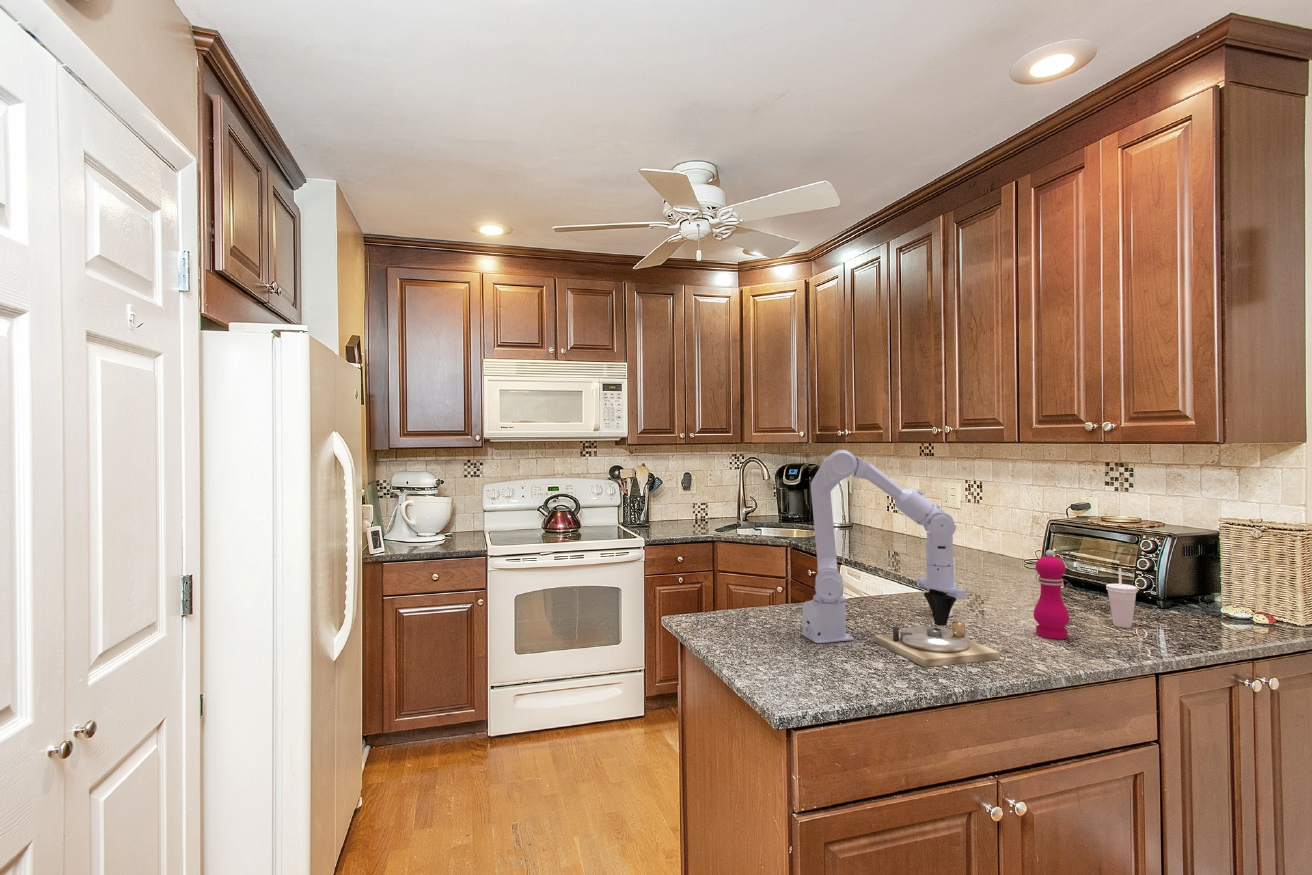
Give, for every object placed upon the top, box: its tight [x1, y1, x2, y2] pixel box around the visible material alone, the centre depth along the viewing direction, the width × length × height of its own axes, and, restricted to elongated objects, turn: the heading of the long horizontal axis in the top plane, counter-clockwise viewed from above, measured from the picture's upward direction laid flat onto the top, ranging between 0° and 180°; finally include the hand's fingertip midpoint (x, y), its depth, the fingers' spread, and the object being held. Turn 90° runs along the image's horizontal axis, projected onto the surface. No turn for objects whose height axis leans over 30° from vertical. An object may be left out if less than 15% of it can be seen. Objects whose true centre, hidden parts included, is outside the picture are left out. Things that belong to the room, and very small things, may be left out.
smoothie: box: [1105, 567, 1139, 629], centre depth 162 cm, size 6×6×14 cm
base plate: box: [874, 626, 1001, 668], centre depth 145 cm, size 18×18×4 cm
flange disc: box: [899, 620, 971, 652], centre depth 145 cm, size 14×14×4 cm
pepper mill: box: [1033, 549, 1070, 640], centre depth 155 cm, size 7×7×20 cm
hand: (940, 624), depth 149 cm, fingers closed
